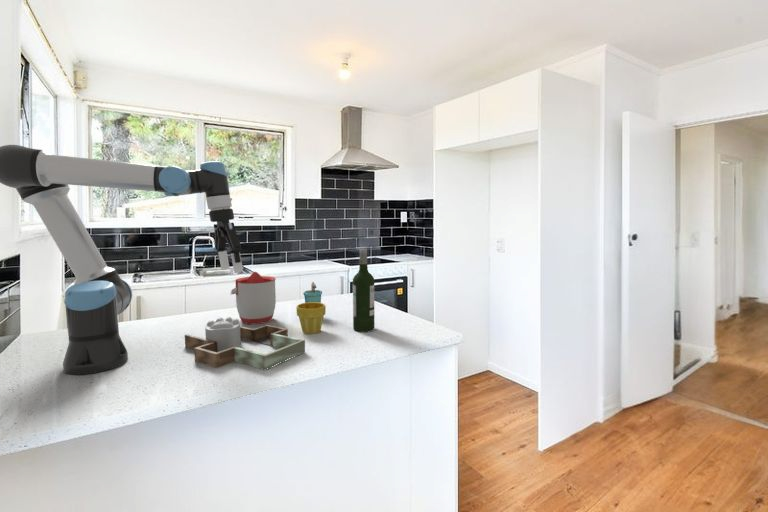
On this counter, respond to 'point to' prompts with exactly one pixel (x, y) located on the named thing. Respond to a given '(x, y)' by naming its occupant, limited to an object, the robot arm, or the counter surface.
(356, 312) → the wine bottle
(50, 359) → the counter surface
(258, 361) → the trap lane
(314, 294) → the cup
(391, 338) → the counter surface
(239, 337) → the lumpy-topped squat cylinder
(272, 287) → the citrus juicer
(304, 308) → the plant pot
